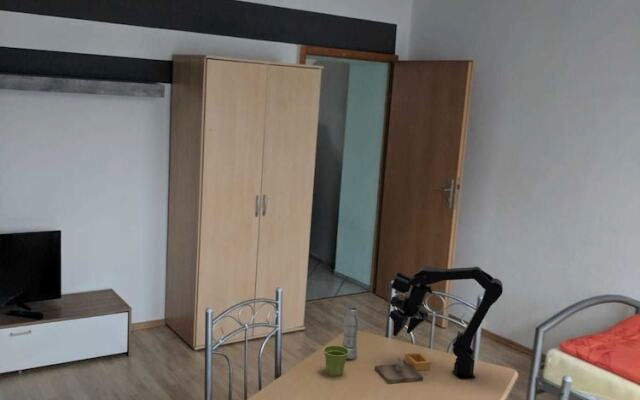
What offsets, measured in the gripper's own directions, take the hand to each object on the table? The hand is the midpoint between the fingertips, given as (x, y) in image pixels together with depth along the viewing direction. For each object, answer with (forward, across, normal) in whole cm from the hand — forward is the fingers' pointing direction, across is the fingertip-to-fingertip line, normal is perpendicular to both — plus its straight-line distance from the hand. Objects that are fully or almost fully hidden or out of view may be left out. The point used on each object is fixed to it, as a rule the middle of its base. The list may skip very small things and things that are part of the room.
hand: (401, 334), depth 252 cm
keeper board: (+11, +7, +9) cm, 16 cm away
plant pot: (+18, +24, -7) cm, 30 cm away
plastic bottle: (+17, +9, -12) cm, 23 cm away
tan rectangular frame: (+10, -6, +8) cm, 14 cm away
